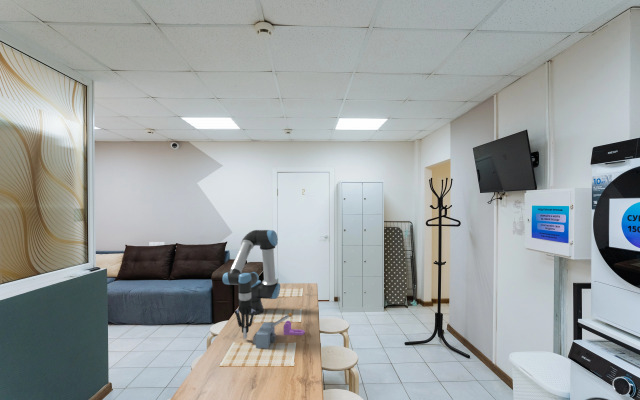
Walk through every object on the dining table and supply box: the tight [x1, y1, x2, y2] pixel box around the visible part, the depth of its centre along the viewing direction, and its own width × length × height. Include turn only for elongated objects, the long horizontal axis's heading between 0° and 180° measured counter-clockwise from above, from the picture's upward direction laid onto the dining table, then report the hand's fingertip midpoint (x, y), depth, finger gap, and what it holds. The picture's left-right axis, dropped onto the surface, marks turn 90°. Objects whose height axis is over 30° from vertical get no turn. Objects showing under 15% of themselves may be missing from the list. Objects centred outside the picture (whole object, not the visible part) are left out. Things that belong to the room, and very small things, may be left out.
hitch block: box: [255, 321, 276, 349], centre depth 182 cm, size 18×7×8 cm, turn 176°
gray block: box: [252, 331, 277, 345], centre depth 182 cm, size 8×12×4 cm
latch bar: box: [271, 312, 293, 328], centre depth 182 cm, size 2×15×2 cm
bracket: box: [283, 320, 305, 336], centre depth 194 cm, size 13×6×7 cm, turn 84°
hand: (245, 337), depth 183 cm, fingers closed
